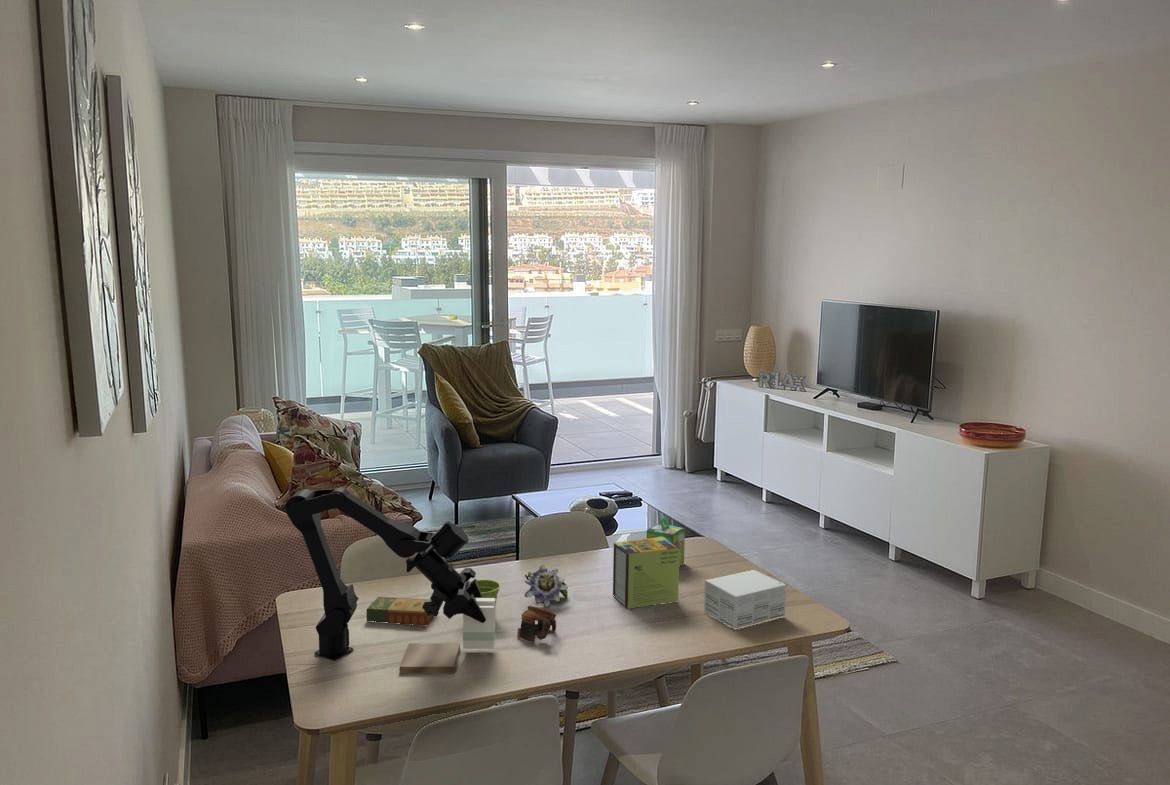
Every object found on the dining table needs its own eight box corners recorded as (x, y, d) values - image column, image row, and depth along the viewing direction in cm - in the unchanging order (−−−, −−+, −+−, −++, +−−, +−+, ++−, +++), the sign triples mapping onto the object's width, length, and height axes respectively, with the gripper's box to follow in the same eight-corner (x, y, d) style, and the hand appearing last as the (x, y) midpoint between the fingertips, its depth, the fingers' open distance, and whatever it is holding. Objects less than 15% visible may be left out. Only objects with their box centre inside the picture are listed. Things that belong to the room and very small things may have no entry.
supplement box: (752, 601, 236) (753, 568, 235) (785, 618, 225) (787, 584, 224) (702, 612, 228) (703, 578, 227) (734, 631, 217) (736, 595, 216)
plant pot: (456, 617, 223) (456, 585, 221) (485, 607, 229) (485, 576, 228) (478, 628, 216) (478, 595, 215) (507, 618, 223) (507, 586, 221)
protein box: (679, 602, 235) (680, 547, 233) (627, 609, 229) (628, 553, 227) (661, 588, 244) (663, 536, 242) (611, 595, 239) (612, 541, 237)
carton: (427, 627, 217) (426, 611, 216) (365, 623, 219) (365, 607, 218) (437, 614, 225) (436, 598, 225) (377, 610, 227) (377, 595, 227)
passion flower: (546, 625, 231) (524, 597, 226) (532, 604, 241) (511, 576, 235) (580, 599, 233) (559, 570, 227) (565, 579, 243) (545, 551, 237)
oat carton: (462, 648, 199) (462, 604, 198) (465, 638, 205) (465, 594, 203) (493, 648, 200) (493, 604, 198) (495, 638, 205) (495, 595, 204)
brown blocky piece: (508, 635, 214) (518, 602, 216) (540, 645, 218) (550, 613, 220) (528, 641, 203) (539, 606, 206) (562, 652, 207) (572, 618, 210)
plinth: (399, 673, 192) (399, 666, 192) (409, 649, 204) (408, 643, 204) (453, 673, 192) (453, 666, 192) (460, 649, 204) (459, 643, 204)
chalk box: (672, 572, 258) (673, 524, 256) (644, 566, 262) (646, 519, 260) (685, 563, 266) (686, 516, 263) (658, 558, 270) (659, 512, 268)
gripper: (419, 579, 209) (465, 623, 211) (406, 609, 191) (456, 657, 193) (452, 548, 208) (497, 592, 210) (441, 575, 190) (492, 623, 192)
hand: (485, 616), depth 201 cm, fingers closed on oat carton, 5 cm apart
